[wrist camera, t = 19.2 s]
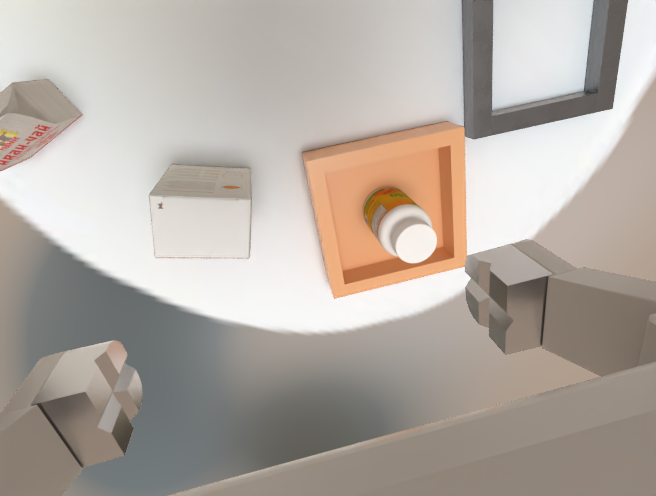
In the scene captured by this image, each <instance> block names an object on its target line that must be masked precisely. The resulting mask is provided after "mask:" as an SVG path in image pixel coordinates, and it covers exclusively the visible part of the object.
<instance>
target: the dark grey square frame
mask: <svg viewBox="0 0 656 496" xmlns="http://www.w3.org/2000/svg"><path fill="white" fill-rule="evenodd" d="M627 4H628V0H594V6H593V15H592V24H591V33H590V42H589V51H588V60H587V70H586V79H585V88H584V92H580V93H575V94H571V95H566V96H561V97H557V98H552V99H547V100H543V101H538V102H534V103H529V104H524V105H520V106H515V107H510V108H506V109H501V110H497V111H492V48H493V0H462V14H463V68H464V123H465V136H466V137H469V138H471V139H477V138H482V137H487V136H491V135H496V134H500V133H505V132H509V131H514V130H518V129H523V128H527V127H532V126H536V125H541V124H545V123H550V122H554V121H559V120H563V119H568V118H572V117H577V116H581V115H586V114H591V113H595V112H600V111H604V110H609V109H613V102H614V95H615V88H616V81H617V74H618V67H619V60H620V53H621V46H622V39H623V32H624V25H625V18H626V11H627Z"/></svg>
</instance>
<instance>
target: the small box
mask: <svg viewBox="0 0 656 496" xmlns="http://www.w3.org/2000/svg"><path fill="white" fill-rule="evenodd" d="M149 201H150V211H151V221H152V232H153V243H154V254H155V258H246V259H249V257H250V244H251V206H252V197H251V169H249V168H228V167H209V166H189V165H174V164H172V165H170V167H169V168H168V170H167V171H166V172H165V174H164V175H163V177H162V178H161V179H160V181H159V182H158V183H157V184H156V186H155V187H154V189H153V190H152V191H151V193H150V194H149Z"/></svg>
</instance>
